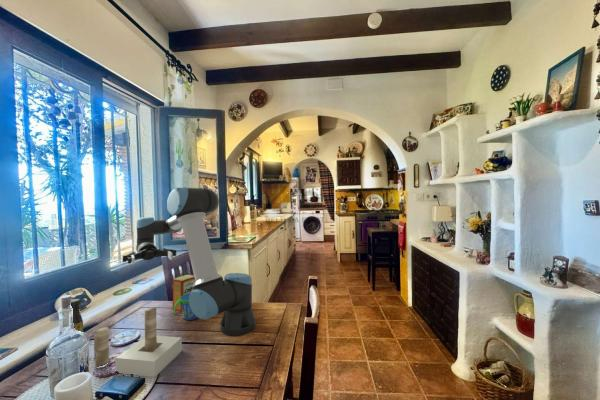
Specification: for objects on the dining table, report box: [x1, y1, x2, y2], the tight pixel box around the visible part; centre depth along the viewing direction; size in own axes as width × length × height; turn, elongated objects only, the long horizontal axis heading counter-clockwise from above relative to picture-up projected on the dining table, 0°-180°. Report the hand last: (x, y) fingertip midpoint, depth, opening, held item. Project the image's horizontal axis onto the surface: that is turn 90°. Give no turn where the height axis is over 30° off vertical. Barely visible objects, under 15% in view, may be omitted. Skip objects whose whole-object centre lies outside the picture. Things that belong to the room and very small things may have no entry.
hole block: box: [114, 335, 183, 378], centre depth 87 cm, size 14×14×5 cm
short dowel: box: [93, 334, 96, 360], centre depth 90 cm, size 4×4×8 cm
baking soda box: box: [172, 274, 195, 313], centre depth 132 cm, size 10×6×16 cm
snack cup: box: [173, 293, 199, 321], centre depth 120 cm, size 16×10×10 cm
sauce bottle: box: [70, 298, 84, 333], centre depth 90 cm, size 6×6×20 cm
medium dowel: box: [95, 326, 110, 368], centre depth 85 cm, size 4×4×12 cm
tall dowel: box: [144, 306, 158, 352], centre depth 87 cm, size 4×4×18 cm
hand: (153, 258), depth 103 cm, fingers open, 13 cm apart
